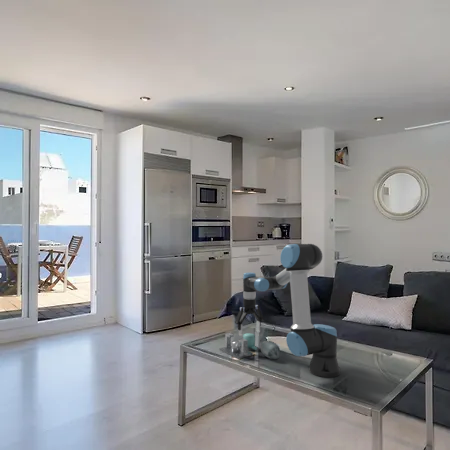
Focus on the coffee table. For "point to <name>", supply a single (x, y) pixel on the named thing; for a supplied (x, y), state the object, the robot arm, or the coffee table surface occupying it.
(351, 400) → the coffee table surface
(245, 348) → the grey metal fixture
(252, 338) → the cap
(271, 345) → the grey green ovoid
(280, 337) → the coffee table surface
